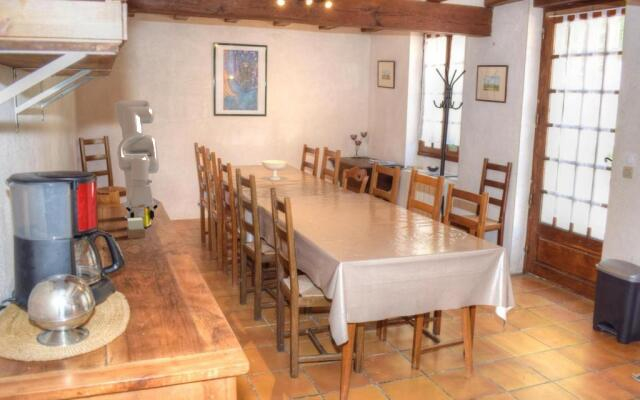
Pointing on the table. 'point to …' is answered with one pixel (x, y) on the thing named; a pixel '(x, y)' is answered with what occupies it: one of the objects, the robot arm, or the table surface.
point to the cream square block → (135, 223)
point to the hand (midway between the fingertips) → (142, 219)
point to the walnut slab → (136, 233)
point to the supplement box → (143, 214)
